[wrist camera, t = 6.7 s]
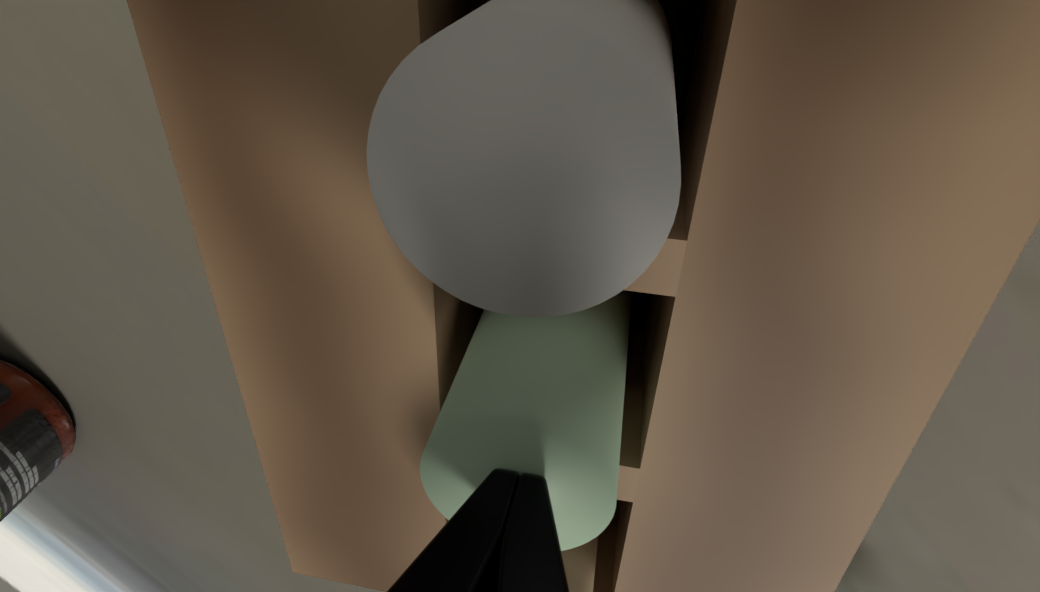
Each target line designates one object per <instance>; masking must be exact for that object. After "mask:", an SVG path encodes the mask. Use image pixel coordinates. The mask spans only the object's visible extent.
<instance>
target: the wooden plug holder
mask: <svg viewBox="0 0 1040 592" xmlns="http://www.w3.org/2000/svg"><path fill="white" fill-rule="evenodd" d="M489 1H491V0H127V3H128V6H129V10H130V13H131V17H132V20H133V23H134V27H135V30H136V34H137V37H138V41H139V44H140V47H141V51H142V54H143V58H144V61H145V65H146V68H147V71H148V75H149V78H150V82H151V85H152V89H153V92H154V96H155V99H156V102H157V106H158V109H159V113H160V116H161V120H162V123H163V126H164V130H165V133H166V137H167V140H168V144H169V147H170V151H171V154H172V157H173V161H174V164H175V168H176V171H177V175H178V178H179V181H180V185H181V188H182V192H183V195H184V199H185V202H186V206H187V209H188V212H189V216H190V219H191V223H192V226H193V230H194V233H195V236H196V240H197V243H198V247H199V250H200V254H201V257H202V261H203V264H204V267H205V271H206V274H207V278H208V281H209V285H210V288H211V291H212V295H213V298H214V302H215V305H216V309H217V312H218V316H219V319H220V322H221V326H222V329H223V333H224V336H225V340H226V343H227V346H228V350H229V353H230V357H231V360H232V364H233V367H234V371H235V374H236V377H237V381H238V384H239V388H240V391H241V395H242V398H243V401H244V405H245V408H246V412H247V415H248V419H249V422H250V425H251V429H252V432H253V436H254V439H255V443H256V446H257V450H258V453H259V456H260V460H261V463H262V467H263V470H264V474H265V477H266V480H267V484H268V487H269V491H270V494H271V498H272V501H273V505H274V508H275V511H276V515H277V518H278V522H279V525H280V529H281V532H282V535H283V539H284V542H285V546H286V549H287V553H288V556H289V560H290V563H291V566H292V570H293V572H294V573H299V574H303V575H308V576H313V577H318V578H323V579H327V580H332V581H337V582H342V583H347V584H351V585H356V586H361V587H366V588H371V589H375V590H380V591H385V592H387V591H388V590H389V588H390V587H391V586H392V585H393V584H394V583H395V582H396V580H397V579H398V578H399V577H400V576H401V575H402V574H403V572H404V571H405V570H406V569H407V568H408V567H409V565H410V564H411V563H412V562H413V561H414V560H415V559H416V557H417V556H418V555H419V554H420V553H421V552H422V551H423V549H424V548H425V547H426V546H427V545H428V544H429V543H430V541H431V540H432V539H433V538H434V537H435V536H436V534H437V533H438V532H439V531H440V530H441V529H442V528H443V526H444V525H445V524H446V523H447V522H448V521H449V520H448V519H446V518H445V517H444V516H443V515H442V514H441V513H440V512H439V511H438V510H437V508H436V507H435V506H434V505H433V503H432V502H431V500H430V499H429V498H428V496H427V494H426V492H425V490H424V487H423V484H422V481H421V476H420V461H421V456H422V453H423V451H424V449H425V446H426V444H427V442H428V439H429V437H430V435H431V432H432V430H433V428H434V425H435V423H436V421H437V418H438V416H439V414H440V411H441V409H442V407H443V404H444V402H445V400H446V397H447V395H448V393H449V390H450V388H451V386H452V383H453V381H454V379H455V376H456V374H457V372H458V369H459V367H460V365H461V362H462V360H463V358H464V355H465V353H466V351H467V348H468V346H469V344H470V341H471V339H472V337H473V334H474V332H475V330H476V327H477V325H478V323H479V320H480V318H481V316H482V313H483V311H484V309H482V308H479V307H476V306H474V305H472V304H469V303H467V302H465V301H462V300H460V299H459V298H457V297H455V296H453V295H451V294H450V293H448V292H446V291H444V290H443V289H442V288H440V287H439V286H437V285H436V284H434V283H433V282H432V281H430V280H429V279H428V278H427V277H426V276H424V275H423V274H422V273H421V272H420V271H419V270H418V269H416V267H415V266H414V265H413V264H412V263H411V262H410V261H409V260H408V259H407V258H406V257H405V256H404V254H403V253H402V252H401V250H400V249H399V248H398V246H397V245H396V244H395V242H394V241H393V239H392V238H391V236H390V234H389V233H388V231H387V229H386V227H385V226H384V224H383V222H382V219H381V217H380V215H379V212H378V210H377V208H376V205H375V202H374V198H373V195H372V192H371V188H370V182H369V177H368V171H367V140H368V131H369V126H370V122H371V118H372V113H373V111H374V108H375V105H376V103H377V100H378V98H379V95H380V93H381V91H382V90H383V88H384V86H385V84H386V82H387V81H388V79H389V77H390V76H391V75H392V73H393V72H394V71H395V69H396V68H397V67H398V66H399V64H400V63H401V62H402V61H403V60H404V59H405V58H406V57H407V56H408V55H409V54H410V53H411V52H412V51H413V50H414V49H415V48H416V47H417V46H419V45H420V44H422V43H423V42H425V41H426V40H427V39H429V38H430V37H432V36H433V35H435V34H436V33H438V32H440V31H441V30H443V29H445V28H446V27H448V26H449V25H451V24H453V23H454V22H456V21H458V20H459V19H461V18H463V17H464V16H466V15H468V14H469V13H471V12H472V11H474V10H476V9H477V8H479V7H481V6H482V5H484V4H486V3H487V2H489ZM679 149H680V163H681V189H680V197H679V205H678V208H677V212H676V216H675V220H674V223H673V226H672V228H671V230H670V233H669V235H668V237H667V240H666V242H665V243H664V245H663V247H662V248H661V250H660V252H659V253H658V255H657V257H656V258H655V259H654V261H653V262H652V263H651V264H650V265H649V267H648V268H647V269H646V270H645V272H644V273H643V274H641V275H640V276H639V277H638V278H637V279H636V280H635V281H634V282H633V283H632V284H631V285H629V286H628V287H627V288H625V289H624V290H626V291H634V292H642V293H650V294H652V296H651V302H650V307H649V313H648V318H647V324H646V329H645V332H641V331H634V330H629V338H628V351H627V365H626V379H625V392H624V406H623V420H622V433H621V447H620V461H619V474H618V488H617V502H616V509H615V513H614V516H613V518H612V520H611V522H610V523H609V525H608V526H607V527H606V529H605V530H604V531H603V532H602V533H600V534H599V535H598V544H597V554H596V565H595V575H594V585H593V592H834V591H835V589H836V587H837V586H838V584H839V582H840V580H841V578H842V576H843V575H844V573H845V571H846V569H847V567H848V566H849V564H850V562H851V560H852V558H853V557H854V555H855V553H856V551H857V549H858V547H859V546H860V544H861V542H862V540H863V538H864V537H865V535H866V533H867V531H868V529H869V528H870V526H871V524H872V522H873V520H874V519H875V517H876V515H877V513H878V511H879V509H880V508H881V506H882V504H883V502H884V500H885V499H886V497H887V495H888V493H889V491H890V490H891V488H892V486H893V484H894V482H895V480H896V479H897V477H898V475H899V473H900V471H901V470H902V468H903V466H904V464H905V462H906V461H907V459H908V457H909V455H910V453H911V452H912V450H913V448H914V446H915V444H916V442H917V441H918V439H919V437H920V435H921V433H922V432H923V430H924V428H925V426H926V424H927V423H928V421H929V419H930V417H931V415H932V413H933V412H934V410H935V408H936V406H937V404H938V403H939V401H940V399H941V397H942V395H943V394H944V392H945V390H946V388H947V386H948V385H949V383H950V381H951V379H952V377H953V375H954V374H955V372H956V370H957V368H958V366H959V365H960V363H961V361H962V359H963V357H964V356H965V354H966V352H967V350H968V348H969V346H970V345H971V343H972V341H973V339H974V337H975V336H976V334H977V332H978V330H979V328H980V327H981V325H982V323H983V321H984V319H985V318H986V316H987V314H988V312H989V310H990V308H991V307H992V305H993V303H994V301H995V299H996V298H997V296H998V294H999V292H1000V290H1001V289H1002V287H1003V285H1004V283H1005V281H1006V279H1007V278H1008V276H1009V274H1010V272H1011V270H1012V269H1013V267H1014V265H1015V263H1016V261H1017V260H1018V258H1019V256H1020V254H1021V252H1022V251H1023V249H1024V247H1025V245H1026V243H1027V241H1028V240H1029V238H1030V236H1031V234H1032V232H1033V231H1034V229H1035V227H1036V225H1037V223H1038V222H1039V220H1040V0H705V2H704V8H703V13H702V19H701V25H700V30H699V36H698V41H697V47H696V52H695V58H694V63H693V69H692V74H691V80H690V85H689V91H688V97H687V102H686V108H685V113H684V119H683V124H682V130H681V135H680V141H679Z"/></svg>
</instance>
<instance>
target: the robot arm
mask: <svg viewBox="0 0 1040 592" xmlns="http://www.w3.org/2000/svg"><path fill="white" fill-rule="evenodd" d="M387 592H570V591H569V586H568V582H567V577H566V572H565V567H564V562H563V558H562V553H561V548H560V543H559V538H558V534H557V529H556V524H555V519H554V514H553V510H552V505H551V500H550V495H549V490H548V486H547V481H546V479H545V477H543V476H540V475H535V474H529V473H522V474H521V475H520V476H519V473H518V472H516V471H512V470H506V469H501V468H496V469H494V470H492V471H491V472H490V474H489V475H488V476H487V477H486V478H485V479H484V480H483V482H482V483H481V484H480V485H479V486H478V487H477V488H476V490H475V491H474V492H473V493H472V494H471V495H470V497H469V498H468V499H467V500H466V501H465V502H464V503H463V505H462V506H461V507H460V508H459V509H458V510H457V511H456V513H455V514H454V515H453V516H452V517H451V518H450V520H449V521H448V522H447V523H446V524H445V525H444V526H443V528H442V529H441V530H440V531H439V532H438V533H437V534H436V536H435V537H434V538H433V539H432V540H431V541H430V543H429V544H428V545H427V546H426V547H425V548H424V549H423V551H422V552H421V553H420V554H419V555H418V556H417V557H416V559H415V560H414V561H413V562H412V563H411V564H410V565H409V567H408V568H407V569H406V570H405V571H404V572H403V574H402V575H401V576H400V577H399V578H398V579H397V580H396V582H395V583H394V584H393V585H392V586H391V587H390V588H389V590H388V591H387Z"/></svg>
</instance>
